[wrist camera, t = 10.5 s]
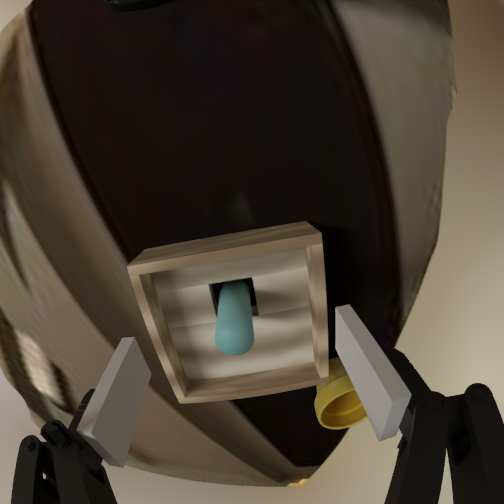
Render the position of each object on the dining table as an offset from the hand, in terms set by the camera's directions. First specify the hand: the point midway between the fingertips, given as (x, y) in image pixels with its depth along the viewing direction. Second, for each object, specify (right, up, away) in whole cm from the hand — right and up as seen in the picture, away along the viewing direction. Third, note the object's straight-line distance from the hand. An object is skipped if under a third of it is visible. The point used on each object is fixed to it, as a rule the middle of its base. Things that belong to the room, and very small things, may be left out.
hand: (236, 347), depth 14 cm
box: (-1, -3, +26) cm, 26 cm away
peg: (-2, -1, +25) cm, 25 cm away
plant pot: (+15, -16, +31) cm, 38 cm away
